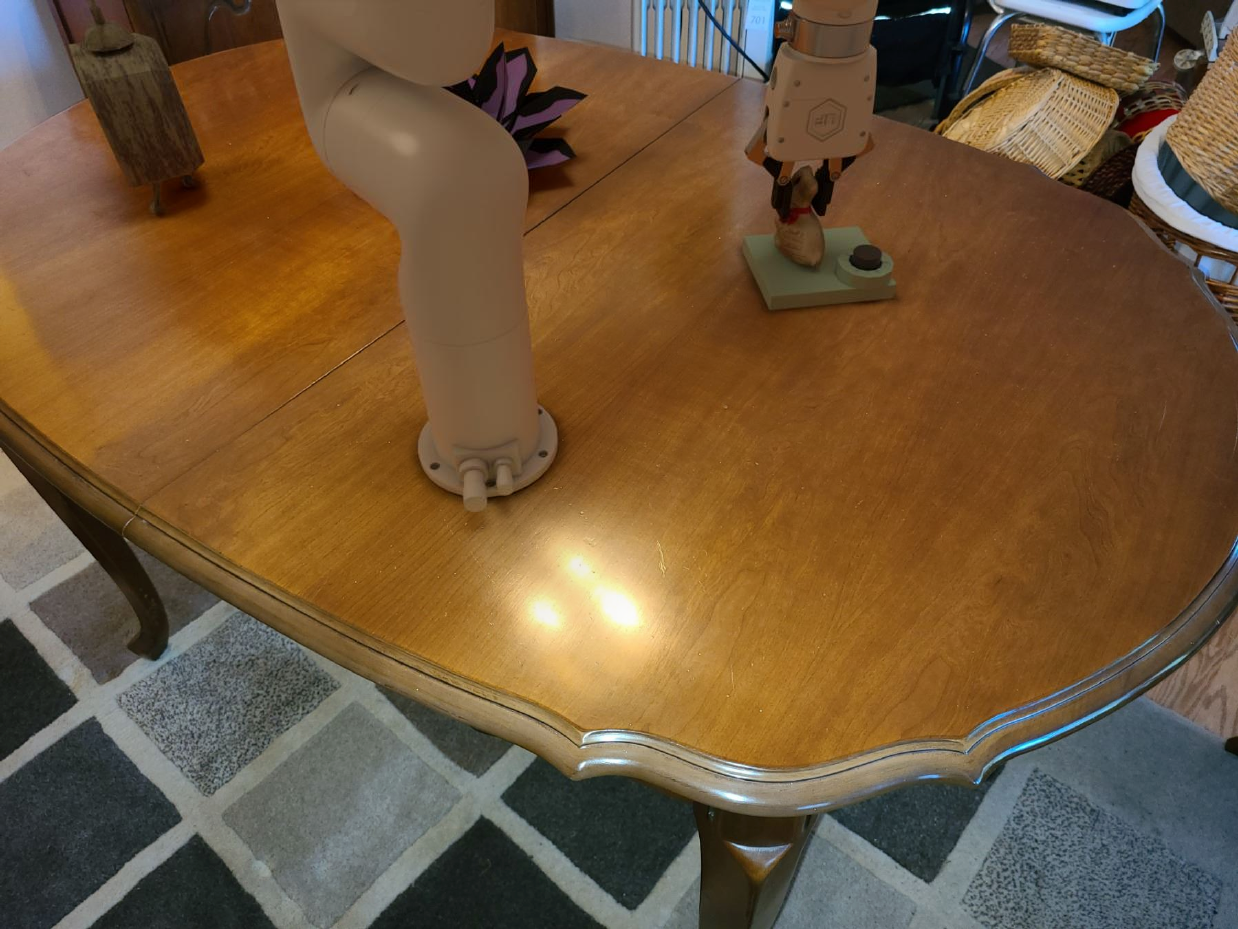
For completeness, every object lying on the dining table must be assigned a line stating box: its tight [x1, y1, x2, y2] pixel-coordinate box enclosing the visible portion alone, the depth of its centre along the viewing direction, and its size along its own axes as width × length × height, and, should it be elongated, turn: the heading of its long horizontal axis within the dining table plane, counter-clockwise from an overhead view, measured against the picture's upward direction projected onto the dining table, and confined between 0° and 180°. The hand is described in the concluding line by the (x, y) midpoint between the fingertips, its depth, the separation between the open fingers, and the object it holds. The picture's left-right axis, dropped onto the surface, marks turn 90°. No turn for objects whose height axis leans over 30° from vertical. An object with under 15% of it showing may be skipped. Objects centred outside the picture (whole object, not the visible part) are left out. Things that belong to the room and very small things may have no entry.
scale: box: [741, 225, 898, 311], centre depth 94 cm, size 12×14×4 cm
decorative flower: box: [441, 41, 589, 171], centre depth 108 cm, size 32×32×15 cm
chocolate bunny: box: [774, 164, 825, 267], centre depth 91 cm, size 6×8×10 cm
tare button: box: [851, 244, 883, 271], centre depth 91 cm, size 3×3×2 cm
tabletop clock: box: [68, 0, 206, 216], centre depth 99 cm, size 14×9×25 cm, turn 30°
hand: (799, 209), depth 91 cm, fingers closed on chocolate bunny, 3 cm apart
